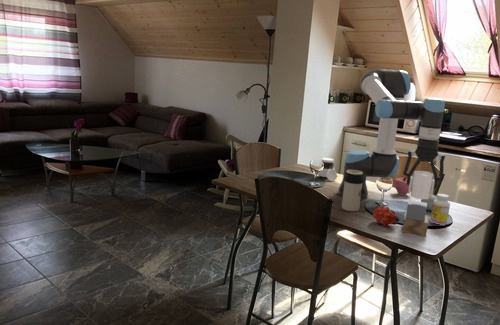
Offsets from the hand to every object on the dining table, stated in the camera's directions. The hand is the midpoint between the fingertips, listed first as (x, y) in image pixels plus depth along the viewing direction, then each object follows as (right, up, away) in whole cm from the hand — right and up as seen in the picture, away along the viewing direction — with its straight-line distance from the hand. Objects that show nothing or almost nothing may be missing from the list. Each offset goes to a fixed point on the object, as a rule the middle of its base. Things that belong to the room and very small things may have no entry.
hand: (420, 194), depth 168 cm
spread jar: (-22, +3, +80) cm, 83 cm away
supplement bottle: (+14, -14, +15) cm, 25 cm away
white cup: (0, -1, 0) cm, 1 cm away
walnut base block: (-1, -16, +4) cm, 16 cm away
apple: (+13, -5, +57) cm, 59 cm away
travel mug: (-22, -9, +27) cm, 36 cm away
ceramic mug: (+20, -10, +33) cm, 40 cm away
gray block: (-1, -10, +2) cm, 10 cm away
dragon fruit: (-11, -14, +9) cm, 20 cm away
